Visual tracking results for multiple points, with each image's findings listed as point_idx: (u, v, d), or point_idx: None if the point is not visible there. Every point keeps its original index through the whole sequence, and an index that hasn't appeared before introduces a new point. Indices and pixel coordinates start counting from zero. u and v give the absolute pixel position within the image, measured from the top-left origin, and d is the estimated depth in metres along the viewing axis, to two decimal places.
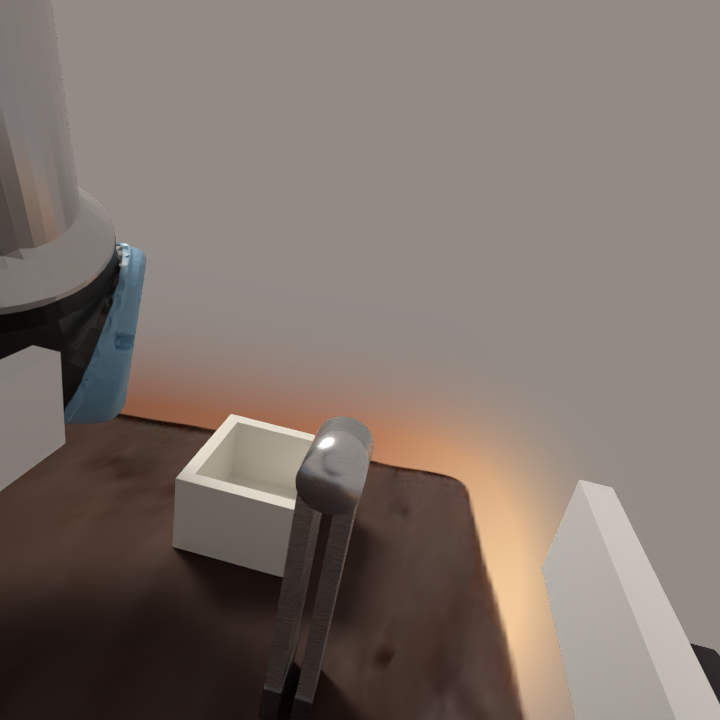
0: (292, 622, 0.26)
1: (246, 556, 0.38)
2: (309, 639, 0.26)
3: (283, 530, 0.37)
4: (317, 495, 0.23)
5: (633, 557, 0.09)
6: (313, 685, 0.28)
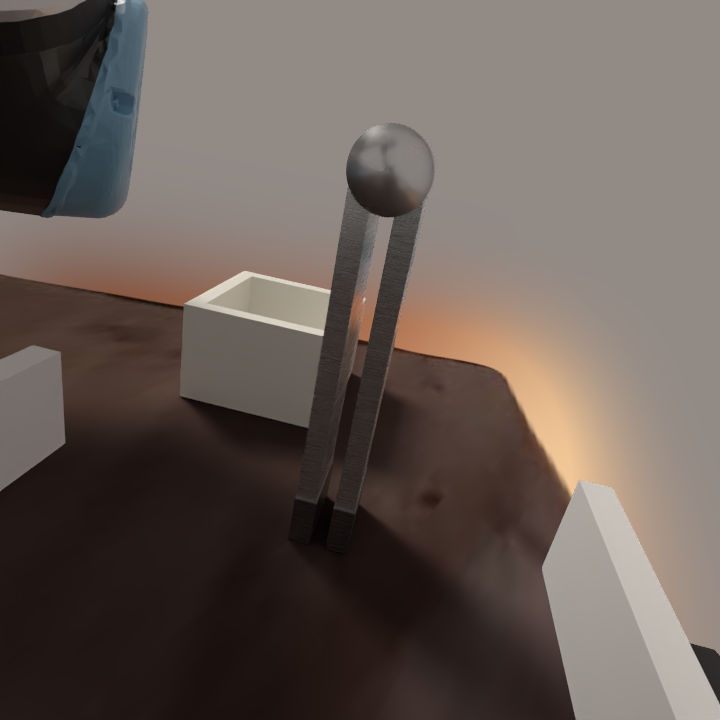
0: (334, 396, 0.21)
1: (266, 402, 0.33)
2: (355, 419, 0.21)
3: (309, 365, 0.32)
4: (374, 187, 0.18)
5: (633, 557, 0.09)
6: (357, 488, 0.22)
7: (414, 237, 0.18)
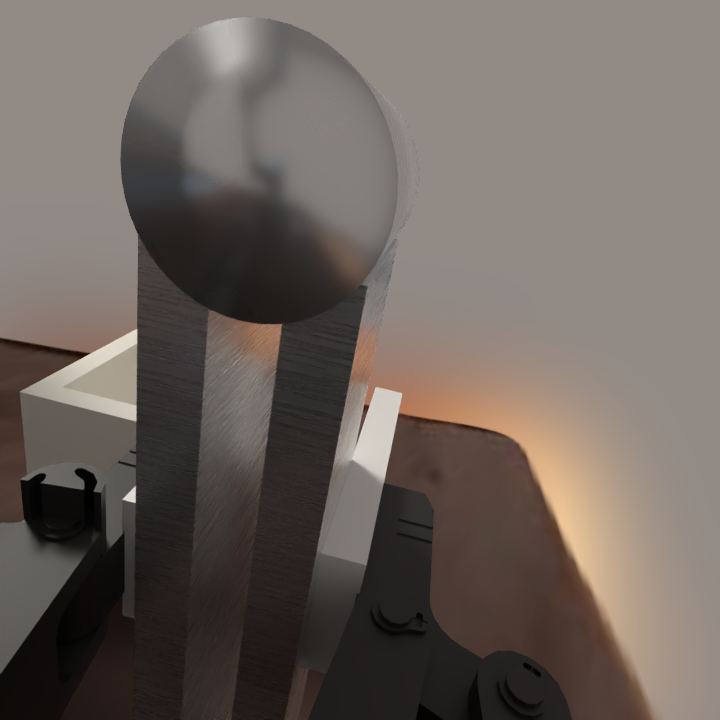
0: (180, 708, 0.09)
1: None
2: None
3: None
4: (214, 237, 0.06)
5: (381, 431, 0.12)
6: None
7: (345, 381, 0.06)
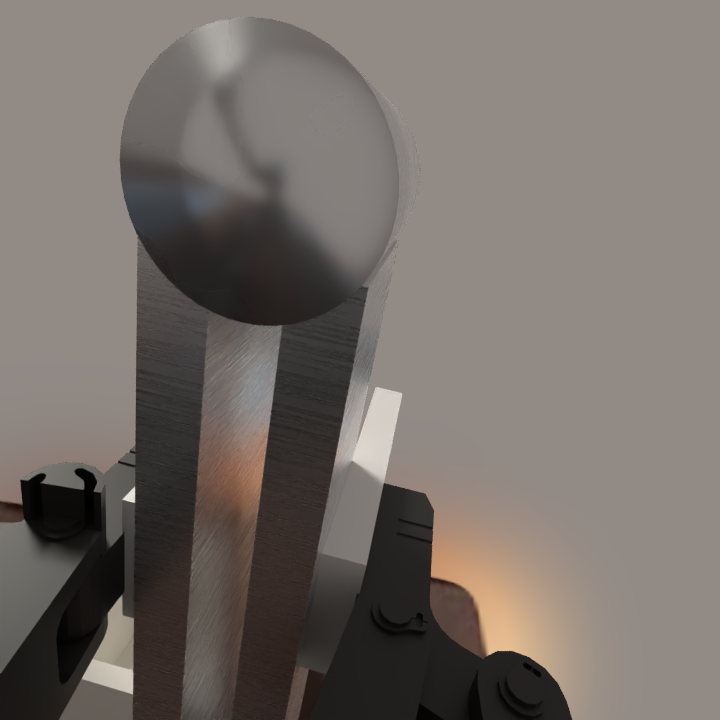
0: (180, 710, 0.09)
1: None
2: None
3: None
4: (214, 238, 0.06)
5: (382, 431, 0.12)
6: None
7: (346, 383, 0.06)
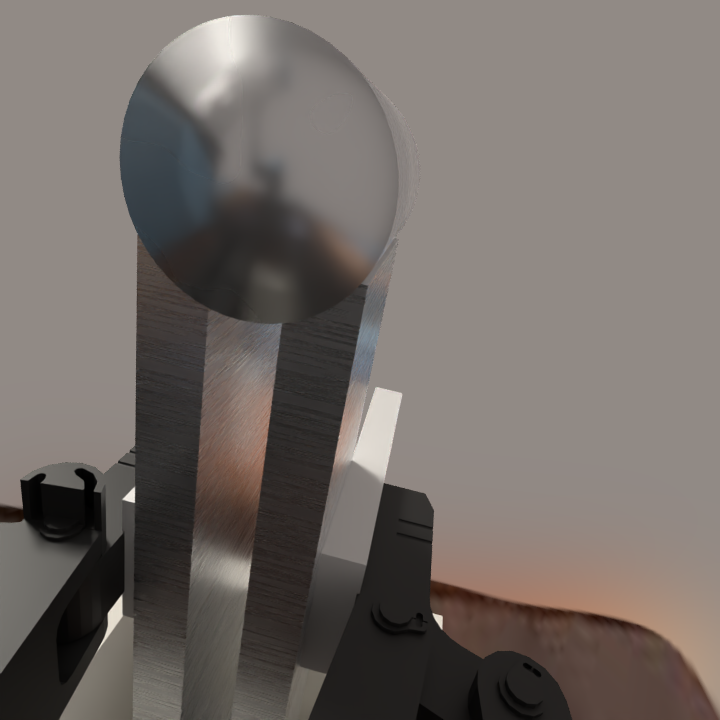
0: (180, 709, 0.09)
1: None
2: None
3: None
4: (214, 235, 0.06)
5: (381, 431, 0.12)
6: None
7: (345, 381, 0.06)
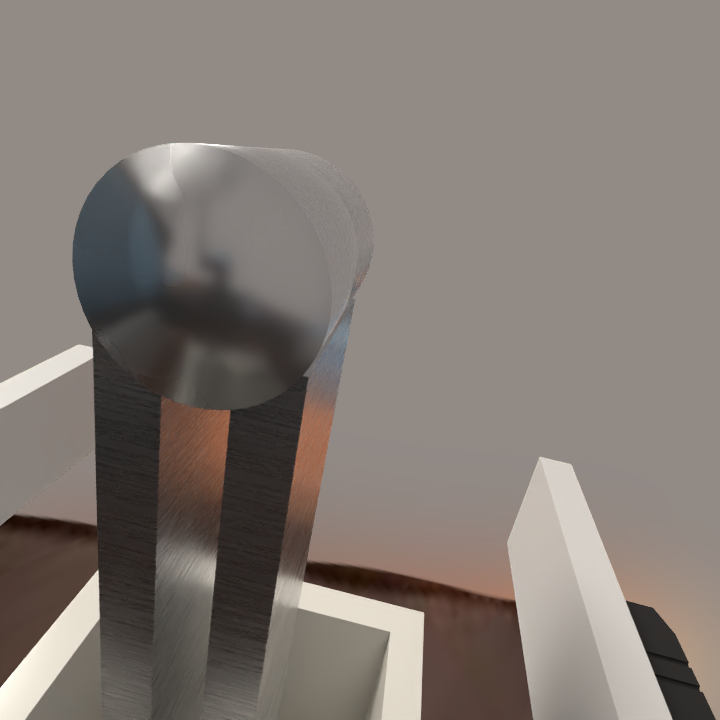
0: None
1: None
2: None
3: None
4: (163, 332, 0.06)
5: (582, 524, 0.10)
6: None
7: (291, 460, 0.06)
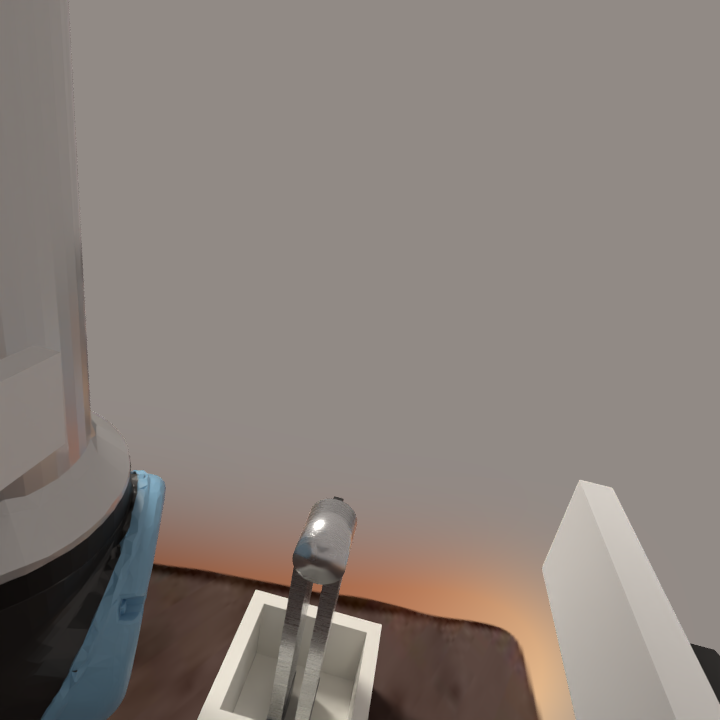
0: (290, 666, 0.32)
1: None
2: (304, 680, 0.32)
3: None
4: (310, 569, 0.28)
5: (633, 557, 0.09)
6: (307, 717, 0.33)
7: (336, 594, 0.29)
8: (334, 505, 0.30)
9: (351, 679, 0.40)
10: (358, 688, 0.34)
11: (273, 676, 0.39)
